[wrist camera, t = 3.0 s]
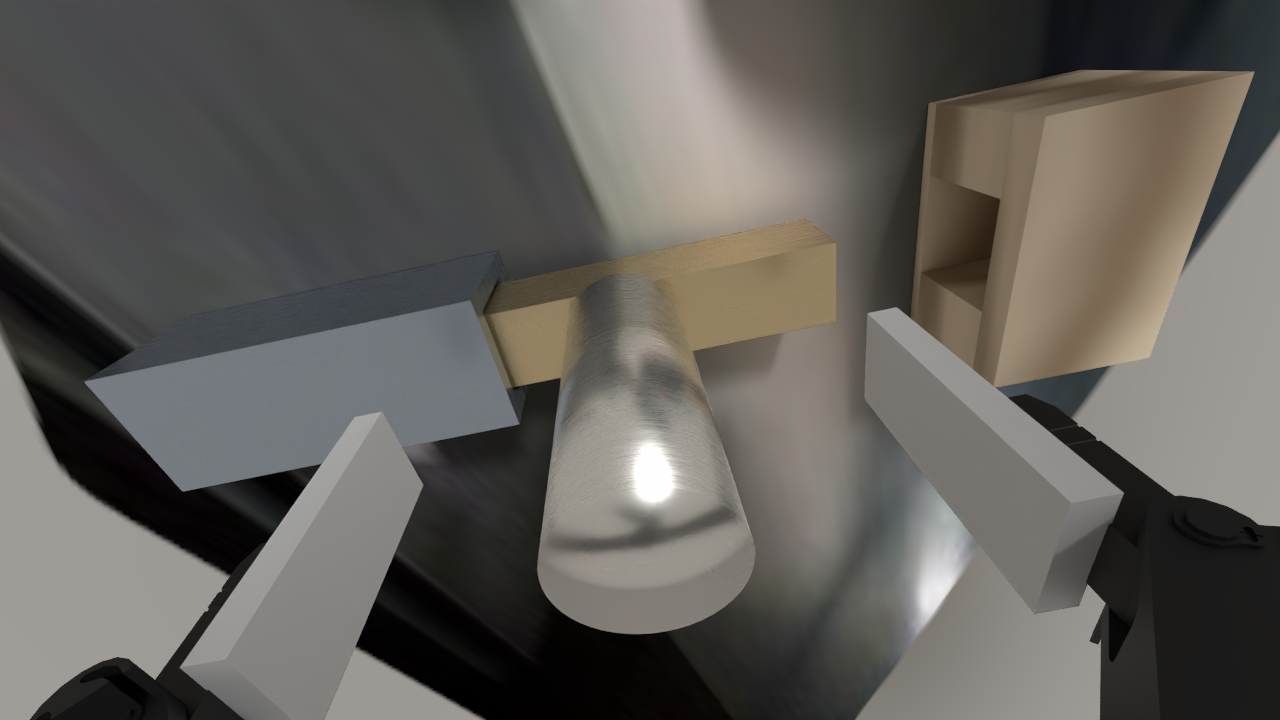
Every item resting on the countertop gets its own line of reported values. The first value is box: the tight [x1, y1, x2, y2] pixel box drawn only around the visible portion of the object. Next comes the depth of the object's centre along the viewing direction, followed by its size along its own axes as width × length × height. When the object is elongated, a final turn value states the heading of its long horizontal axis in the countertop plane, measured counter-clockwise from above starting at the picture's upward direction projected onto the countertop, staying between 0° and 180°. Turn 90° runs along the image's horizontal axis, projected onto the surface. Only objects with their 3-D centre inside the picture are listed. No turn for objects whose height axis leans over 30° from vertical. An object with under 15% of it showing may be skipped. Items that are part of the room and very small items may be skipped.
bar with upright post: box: [483, 219, 836, 634], centre depth 15 cm, size 23×4×13 cm, turn 101°
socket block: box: [910, 70, 1254, 388], centre depth 18 cm, size 6×9×6 cm, turn 11°
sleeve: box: [84, 251, 529, 491], centre depth 20 cm, size 13×5×5 cm, turn 101°
